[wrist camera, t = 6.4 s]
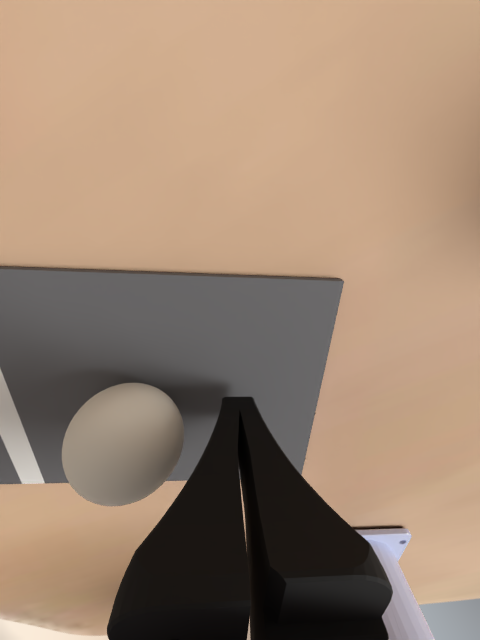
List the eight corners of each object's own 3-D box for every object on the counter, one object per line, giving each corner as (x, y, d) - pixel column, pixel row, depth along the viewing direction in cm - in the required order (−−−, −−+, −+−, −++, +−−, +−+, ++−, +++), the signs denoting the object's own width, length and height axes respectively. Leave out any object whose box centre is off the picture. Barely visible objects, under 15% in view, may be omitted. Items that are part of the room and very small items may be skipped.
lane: (298, 471, 16) (300, 478, 15) (-158, 480, 14) (-168, 487, 14) (340, 278, 11) (344, 281, 11) (-354, 253, 9) (-379, 255, 9)
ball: (204, 466, 12) (114, 561, 9) (146, 414, 14) (56, 476, 11) (207, 396, 10) (89, 490, 7) (138, 348, 12) (23, 402, 9)
